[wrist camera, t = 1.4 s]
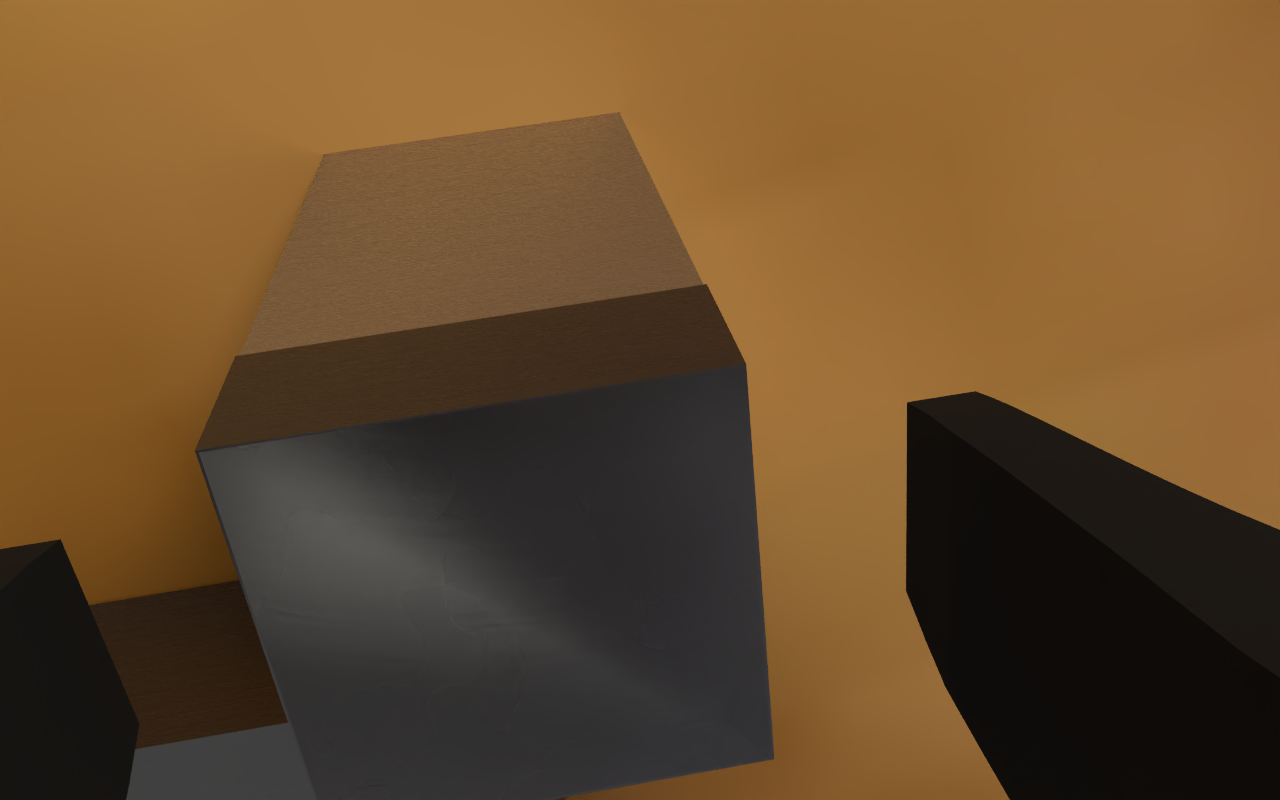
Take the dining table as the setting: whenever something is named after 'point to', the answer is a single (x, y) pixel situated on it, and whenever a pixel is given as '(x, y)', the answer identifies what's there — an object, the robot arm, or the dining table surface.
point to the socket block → (201, 698)
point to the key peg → (496, 478)
